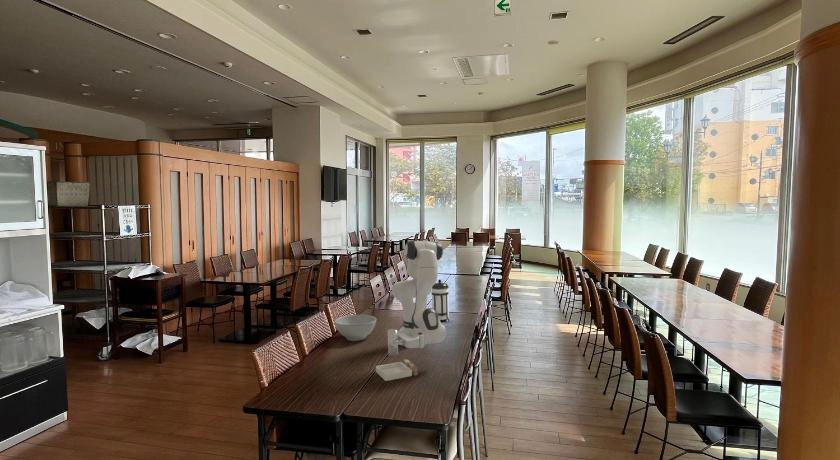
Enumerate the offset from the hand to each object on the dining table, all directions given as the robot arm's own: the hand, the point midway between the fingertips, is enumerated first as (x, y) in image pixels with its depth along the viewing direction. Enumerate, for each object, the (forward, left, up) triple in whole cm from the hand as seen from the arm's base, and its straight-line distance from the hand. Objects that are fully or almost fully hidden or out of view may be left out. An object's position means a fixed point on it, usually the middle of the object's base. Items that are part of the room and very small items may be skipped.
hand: (391, 341), depth 232 cm
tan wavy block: (0, +10, -17) cm, 20 cm away
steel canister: (0, +1, -6) cm, 7 cm away
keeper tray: (0, +1, -17) cm, 17 cm away
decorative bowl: (-71, +3, -17) cm, 73 cm away
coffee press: (-83, +71, -17) cm, 111 cm away
